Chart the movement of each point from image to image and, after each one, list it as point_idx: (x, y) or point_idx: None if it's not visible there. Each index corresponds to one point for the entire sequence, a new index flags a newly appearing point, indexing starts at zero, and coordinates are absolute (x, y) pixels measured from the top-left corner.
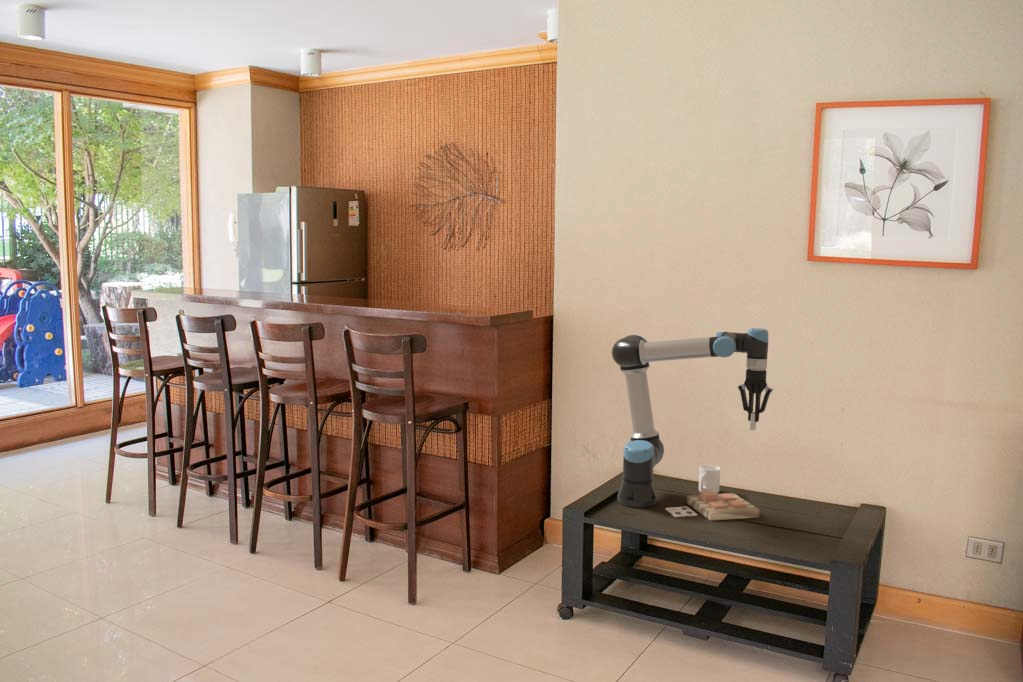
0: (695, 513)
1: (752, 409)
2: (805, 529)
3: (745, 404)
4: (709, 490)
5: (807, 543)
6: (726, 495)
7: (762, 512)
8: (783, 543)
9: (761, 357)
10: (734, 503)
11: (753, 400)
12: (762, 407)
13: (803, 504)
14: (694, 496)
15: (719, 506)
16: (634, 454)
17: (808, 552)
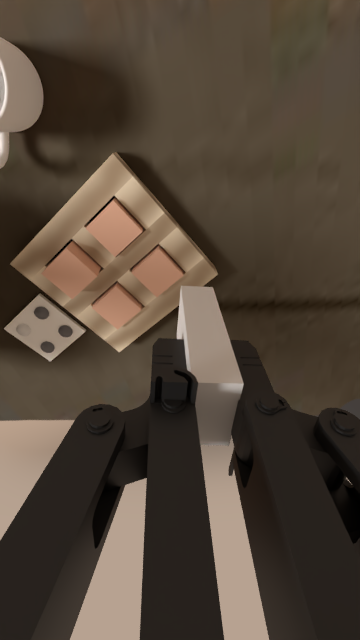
0: (79, 328)
1: (190, 428)
2: (321, 290)
3: (94, 557)
4: (21, 130)
5: (318, 360)
6: (110, 225)
7: (217, 222)
8: (275, 379)
9: None
10: (153, 284)
11: (216, 593)
12: (353, 535)
13: (338, 52)
14: (29, 259)
15: (126, 321)
16: None
17: (316, 394)
